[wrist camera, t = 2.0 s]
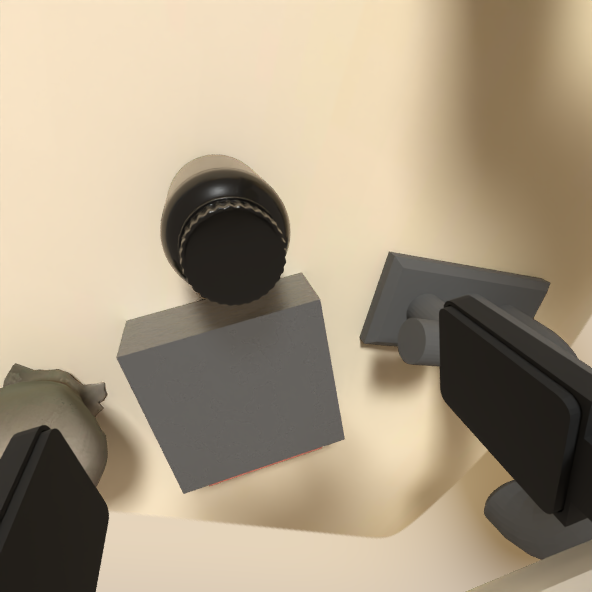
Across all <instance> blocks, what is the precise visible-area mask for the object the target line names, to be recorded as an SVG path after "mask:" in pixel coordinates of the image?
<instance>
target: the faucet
mask: <svg viewBox="0 0 592 592" xmlns="http://www.w3.org/2000/svg"><path fill="white" fill-rule="evenodd" d="M549 285H550V283H549V282H547V281H545V280H543V279H541V278H536V277H530V276H524V275H519V274H513V273H507V272H502V271H496V270H490V269H485V268H479V267H473V266H468V265H462V264H456V263H451V262H445V261H439V260H434V259H428V258H422V257H417V256H411V255H405V254H400V253H394V252H389V253H388V256H387V259H386V262H385V265H384V268H383V271H382V274H381V276H380V279H379V282H378V285H377V288H376V291H375V294H374V297H373V300H372V303H371V306H370V308H369V311H368V314H367V317H366V320H365V323H364V326H363V329H362V332H361V335H360V339H361V340H362V341H363V343H364V344H375V345H386V346H398V351H399V354H400V356H401V358H402V359H403V361H404V362H405V363H407V364H412V365H428V366H440V345H439V311H440V309H442V308H444V304H445V302H446V301H449V300H452V299H455V298H459V297H462V296H465V295H470V296H472V297H473V298H475V299H477V300H478V301H480V302H481V303H483V304H484V305H486V306H487V307H489V308H490V309H492V310H493V311H495V312H497V313H498V314H500V315H501V316H503V317H504V318H506V319H507V320H509V321H510V322H512V323H514V324H515V325H517V326H518V327H520V328H521V329H523V330H524V331H526V332H527V333H529V334H530V335H532V336H534V337H535V338H537V339H538V340H540V341H541V342H543V343H544V344H546V345H547V346H549V347H550V348H552V349H554V350H555V351H557V352H558V353H560V354H561V355H563V356H564V357H566V358H567V359H569V360H571V361H572V362H574V363H575V364H577V365H578V366H580V367H581V368H583V369H584V370H586V371H587V372H589V373H591V374H592V368H591V367H590V366H588V365H587V364H585V363H584V362H582V361H580V360H579V359H578V358H577V356H576V354H575V353H574V352H573V350H572V349H571V348H570V347H569V346H568V344H567V343H566V342H565V341H564V340H563V339H561V338H560V337H559V336H558V335H557V334H556V333H554V332H553V331H552V330H550V329H549V328H547V327H545V326H544V325H542V324H541V323H539V322H537V321H536V320H534V319H533V318H534V316H535V314H536V312H537V310H538V308H539V306H540V305H541V303H542V301H543V299H544V297H545V295H546V293H547V291H548V288H549ZM484 514H485V516H486V518H487V519H488V520H489V521H490V522H491V523H492V524H493V525H494V526H495V527H496V528H497V529H498V530H499V532H500V533H501V534H502V535H503V536H504V537H505V538H506V539H508V540H509V541H511V542H512V543H513V544H515V545H516V546H518V547H519V548H521V549H522V550H523V551H525V552H526V553H528V554H529V555H531V556H533V557H536V558H538V559H541V560H543V559H545V558H548V557H550V556H552V555H555V554H557V553H560V552H562V551H565V550H567V549H570V548H572V547H575V546H577V545H580V544H583V543H585V542H588V541H590V540H592V522H591V521H590V520H589V519H588V518H586V519H584V520H582V521H579V522H577V523H574V524H572V525H570V526H567V527H564V526H563V524H562V523H561V522H560V521H559V520H558V519H557V518H556V517H555V516H554V515H553V514H547V513H545V512H544V511H542V510H541V509H540V508H539V507H538V505H537V504H536V503H535V502H534V501H533V500H532V499H531V498H530V496H529V495H528V494H527V493H526V492H525V491H524V490H523V489H522V487H521V486H520V485H519V484H518V483H517V482H516V481H515V480H513V481H510V482H507V483H505V484H503V485H501V486H500V487H498V488H497V489H496V490H494V491H493V492H492V493H491V494H490V496H489V497H488V499H487V501H486V504H485V508H484Z"/></svg>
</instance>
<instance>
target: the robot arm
mask: <svg viewBox="0 0 592 592" xmlns="http://www.w3.org/2000/svg"><path fill="white" fill-rule="evenodd" d="M439 345H440V390H441V394H442V397H443V399H444V401H445V402H446V403H447V405H448V406H449V407H450V408H451V409H452V410H453V411H454V413H455V414H456V415H457V416H458V417H459V418H460V419H461V420H462V421H463V423H464V424H465V425H466V426H467V427H468V428H469V429H470V430H471V432H472V433H473V434H474V435H475V436H476V437H477V438H478V439H479V441H480V442H481V443H482V444H483V445H484V446H485V447H486V448H487V449H488V451H489V452H490V453H491V454H492V455H493V456H494V457H495V458H496V459H497V461H498V462H499V463H500V464H501V465H502V466H503V467H504V468H505V470H506V471H507V472H508V473H509V474H510V475H511V476H512V477H513V479H514V480H515V481H516V482H517V483H518V484H519V485H520V486H521V487H522V489H523V490H524V491H525V492H526V493H527V494H528V495H529V496H530V498H531V499H532V500H533V501H534V502H535V503H536V504H537V505H538V507H539V508H540V509H541V510H542V511H544V512H545V513H547V514H553V515H554V516H555V517H556V518H557V519H558V520H559V521H560V522H561V523H562V524H563V526H564V527H567V526H570V525H572V524H574V523H577V522H579V521H582V520H584V519H586V518H588V519H589V520H590V521H591V522H592V374H591V373H589V372H587V371H586V370H584V369H583V368H581V367H580V366H578V365H577V364H575V363H574V362H572V361H571V360H569V359H567V358H566V357H564V356H563V355H561V354H560V353H558V352H557V351H555V350H554V349H552V348H550V347H549V346H547V345H546V344H544V343H543V342H541V341H540V340H538V339H537V338H535V337H534V336H532V335H530V334H529V333H527V332H526V331H524V330H523V329H521V328H520V327H518V326H517V325H515V324H514V323H512V322H510V321H509V320H507V319H506V318H504V317H503V316H501V315H500V314H498V313H497V312H495V311H493V310H492V309H490V308H489V307H487V306H486V305H484V304H483V303H481V302H480V301H478V300H477V299H475V298H473V297H472V296H470V295H465V296H462V297H459V298H455V299H452V300H449V301H446V302H445V304H444V308H442V309H440V311H439ZM108 520H109V512H108V507H107V505H106V503H105V501H104V499H103V498H102V496H101V495H100V493H99V492H98V490H97V488H96V487H95V485H94V484H93V482H92V481H91V479H90V477H89V476H88V474H87V473H86V471H85V470H84V468H83V466H82V465H81V463H80V462H79V460H78V459H77V457H76V455H75V454H74V452H73V451H72V449H71V448H70V446H69V444H68V443H67V441H66V440H65V438H64V437H63V435H62V433H61V432H60V431H59V430H58V429H56V428H54V429H51V428H50V427H48V426H47V425H41V426H38V427H34V428H31V429H28V430H25V431H21V432H18V433H16V434H14V435H13V436H12V438H11V439H10V441H9V443H8V445H7V447H6V449H5V451H4V453H3V455H2V457H1V459H0V592H96V587H97V581H98V576H99V570H100V565H101V559H102V554H103V548H104V543H105V537H106V532H107V526H108ZM466 592H592V540H590V541H588V542H585V543H583V544H580V545H577V546H575V547H572V548H570V549H567V550H565V551H562V552H560V553H557V554H555V555H552V556H550V557H548V558H545V559H543V560H541V561H538V562H536V563H533V564H531V565H529V566H526V567H524V568H521V569H519V570H517V571H514V572H512V573H509V574H507V575H504V576H502V577H500V578H497V579H495V580H492V581H490V582H488V583H485V584H483V585H481V586H478V587H476V588H473V589H471V590H469V591H466Z"/></svg>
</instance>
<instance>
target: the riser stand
mask: <svg viewBox="0 0 592 592" xmlns="http://www.w3.org/2000/svg"><path fill="white" fill-rule="evenodd" d="M117 360H118V362H119V364H120V366H121V368H122V370H123V372H124V374H125V376H126V378H127V380H128V382H129V384H130V386H131V388H132V390H133V392H134V394H135V396H136V398H137V400H138V402H139V404H140V406H141V408H142V410H143V412H144V414H145V417H146V419H147V421H148V423H149V425H150V427H151V429H152V431H153V433H154V435H155V437H156V439H157V441H158V443H159V445H160V447H161V449H162V451H163V453H164V455H165V457H166V459H167V461H168V463H169V465H170V467H171V469H172V471H173V473H174V475H175V477H176V479H177V481H178V483H179V485H180V488H181V490H182V492H183V494H185V493H187V492H190V491H193V490H196V489H199V488H202V487H205V486H208V485H209V486H212V485H215V484H218V483H221V482H223V481H226V480H229V479H232V478H235V477H238V476H241V475H244V474H247V473H250V472H253V471H256V470H259V469H262V468H265V467H268V466H271V465H273V464H276V463H279V462H282V461H285V460H288V459H291V458H294V457H297V456H300V455H303V454H306V453H309V452H312V451H315V450H318V449H321V448H322V447H323V446H326V445H329V444H332V443H335V442H338V441H341V440H344V439H345V438H344V433H343V427H342V421H341V416H340V410H339V404H338V398H337V393H336V387H335V381H334V376H333V370H332V364H331V359H330V353H329V347H328V342H327V336H326V330H325V324H324V319H323V313H322V307H321V302H320V298H319V297H318V295H317V294H316V293H315V291H314V290H313V288H312V287H311V285H310V284H309V282H308V281H307V279H306V278H305V277H304V275H303V274H302V273H299V274H295V275H291V276H288V277H284V278H280V280H279V281H278V282H277V283H276V284H275V286H274V288H273V289H271V290H269V292H268V293H267V294H266V295H263V296H262V297H261V298H260V299H259V300H254V301H252V302H251V303H244V304H242V305H232V306H229V305H227V304H223V305H220V304H218V303H217V302H211V301H210V300H208V299H204V300H201V301H197V302H193V303H190V304H186V305H182V306H179V307H175V308H172V309H168V310H164V311H161V312H157V313H153V314H150V315H146V316H143V317H139V318H135V319H132V320H128V321H126V324H125V328H124V332H123V335H122V339H121V343H120V346H119V350H118V354H117Z"/></svg>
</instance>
